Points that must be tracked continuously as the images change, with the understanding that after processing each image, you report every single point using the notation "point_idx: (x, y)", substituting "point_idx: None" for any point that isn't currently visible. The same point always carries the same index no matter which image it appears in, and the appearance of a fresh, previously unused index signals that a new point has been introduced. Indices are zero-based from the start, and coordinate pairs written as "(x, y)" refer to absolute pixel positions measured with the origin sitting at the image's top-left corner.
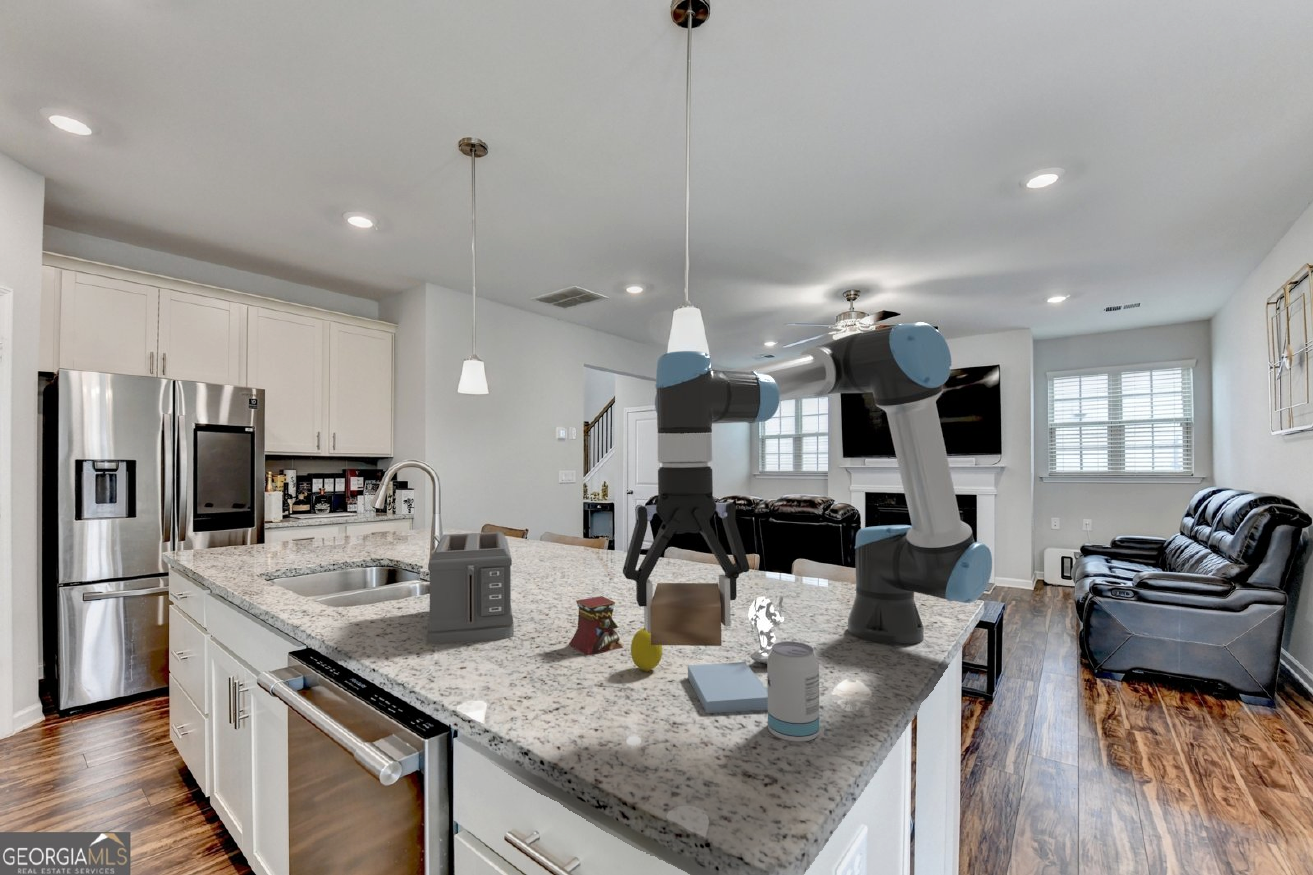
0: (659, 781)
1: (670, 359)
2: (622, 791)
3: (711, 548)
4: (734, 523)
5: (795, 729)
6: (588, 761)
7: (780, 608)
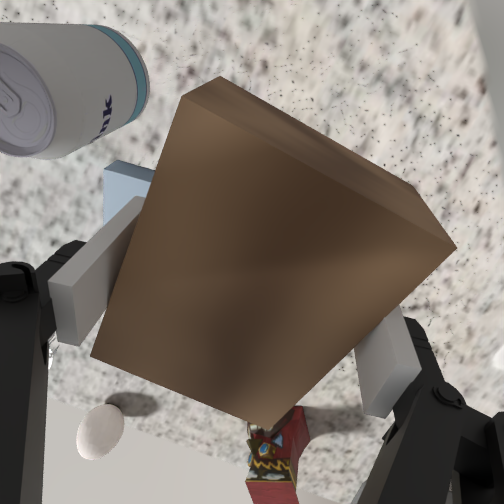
0: (394, 36)
1: None
2: (468, 32)
3: (37, 461)
4: None
5: (109, 32)
6: (461, 150)
7: None
